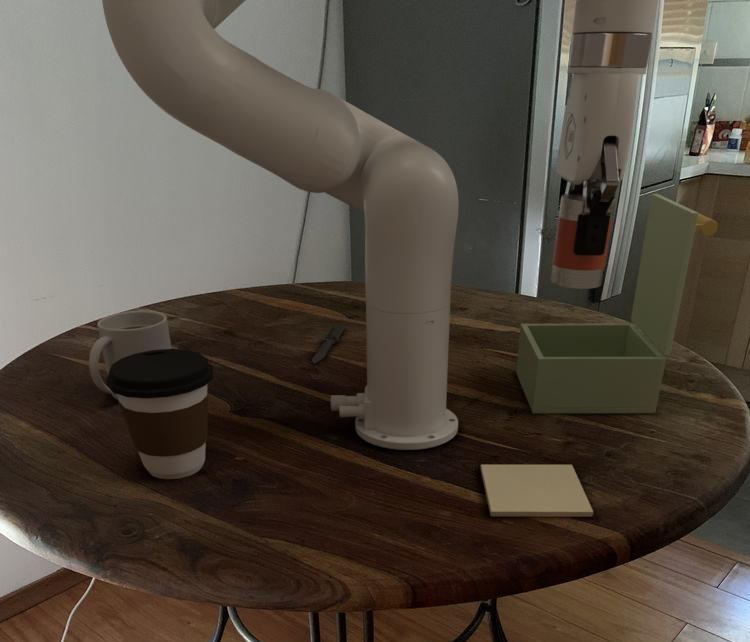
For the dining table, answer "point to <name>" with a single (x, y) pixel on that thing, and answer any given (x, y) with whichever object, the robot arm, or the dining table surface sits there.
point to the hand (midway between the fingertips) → (580, 246)
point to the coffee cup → (165, 408)
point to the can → (565, 263)
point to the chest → (589, 368)
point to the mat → (534, 491)
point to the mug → (127, 339)
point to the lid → (665, 268)
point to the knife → (329, 343)
